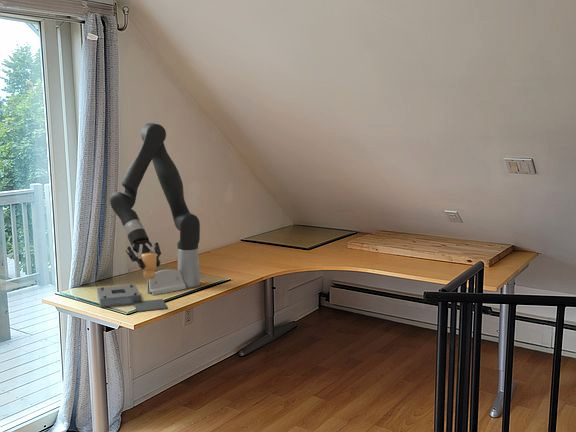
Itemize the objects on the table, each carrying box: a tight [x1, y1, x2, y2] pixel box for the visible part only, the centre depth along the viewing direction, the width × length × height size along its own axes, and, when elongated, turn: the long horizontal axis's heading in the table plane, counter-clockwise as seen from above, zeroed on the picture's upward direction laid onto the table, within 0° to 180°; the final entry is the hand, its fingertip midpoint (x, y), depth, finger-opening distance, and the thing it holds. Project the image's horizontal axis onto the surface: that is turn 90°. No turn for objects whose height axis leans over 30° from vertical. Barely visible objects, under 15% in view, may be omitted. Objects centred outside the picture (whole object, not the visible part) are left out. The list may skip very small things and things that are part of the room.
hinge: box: [146, 269, 187, 296], centre depth 268 cm, size 17×5×10 cm, turn 127°
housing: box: [96, 284, 142, 308], centre depth 254 cm, size 16×16×4 cm
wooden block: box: [141, 251, 158, 280], centre depth 244 cm, size 6×6×10 cm
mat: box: [133, 298, 169, 313], centre depth 247 cm, size 12×12×1 cm
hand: (151, 266), depth 242 cm, fingers closed on wooden block, 6 cm apart
